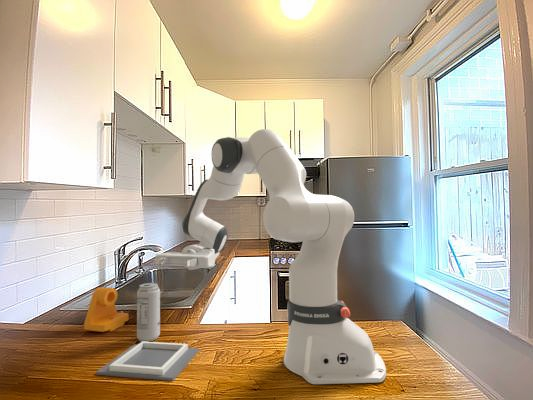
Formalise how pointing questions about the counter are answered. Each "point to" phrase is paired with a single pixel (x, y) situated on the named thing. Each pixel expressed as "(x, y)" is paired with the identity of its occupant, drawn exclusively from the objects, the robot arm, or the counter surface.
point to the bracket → (104, 311)
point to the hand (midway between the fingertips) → (172, 263)
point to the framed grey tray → (150, 361)
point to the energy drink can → (148, 312)
